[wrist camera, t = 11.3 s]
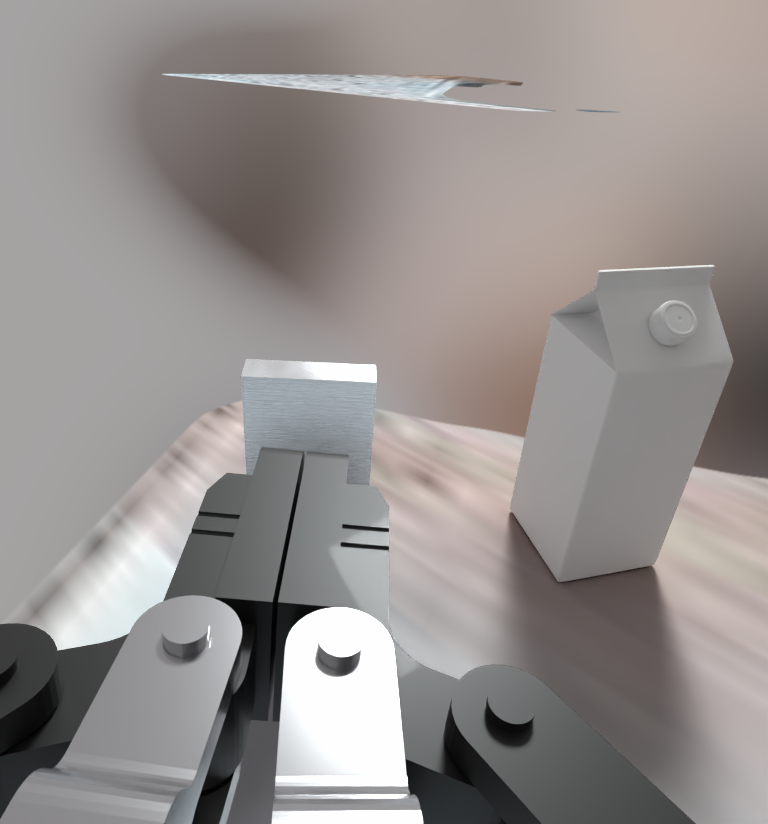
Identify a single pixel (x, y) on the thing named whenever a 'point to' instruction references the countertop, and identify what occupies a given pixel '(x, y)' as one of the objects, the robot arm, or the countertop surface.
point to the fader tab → (310, 410)
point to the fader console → (257, 774)
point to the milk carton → (619, 418)
